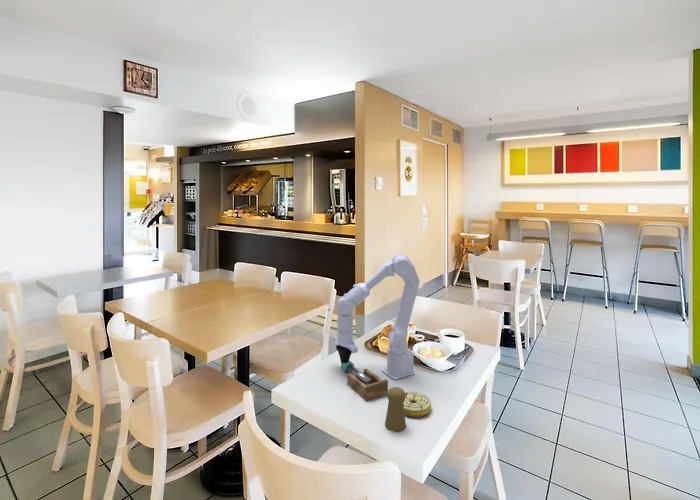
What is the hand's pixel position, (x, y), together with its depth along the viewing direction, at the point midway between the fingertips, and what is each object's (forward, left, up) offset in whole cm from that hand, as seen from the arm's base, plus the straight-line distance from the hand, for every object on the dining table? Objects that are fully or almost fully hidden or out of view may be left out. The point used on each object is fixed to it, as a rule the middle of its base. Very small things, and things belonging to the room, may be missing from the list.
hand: (344, 364), depth 140 cm
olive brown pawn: (+4, +36, -3) cm, 36 cm away
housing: (0, +15, -3) cm, 15 cm away
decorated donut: (-6, +32, -3) cm, 32 cm away
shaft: (0, +8, -2) cm, 9 cm away
